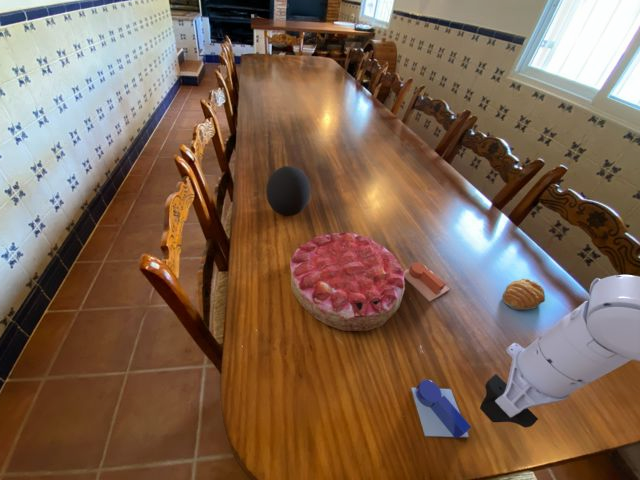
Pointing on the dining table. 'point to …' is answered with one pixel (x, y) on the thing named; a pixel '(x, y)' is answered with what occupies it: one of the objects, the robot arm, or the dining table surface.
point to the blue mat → (434, 417)
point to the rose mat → (423, 287)
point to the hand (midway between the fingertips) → (502, 399)
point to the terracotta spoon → (426, 277)
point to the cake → (347, 281)
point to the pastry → (523, 294)
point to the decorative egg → (288, 191)
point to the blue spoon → (442, 408)
